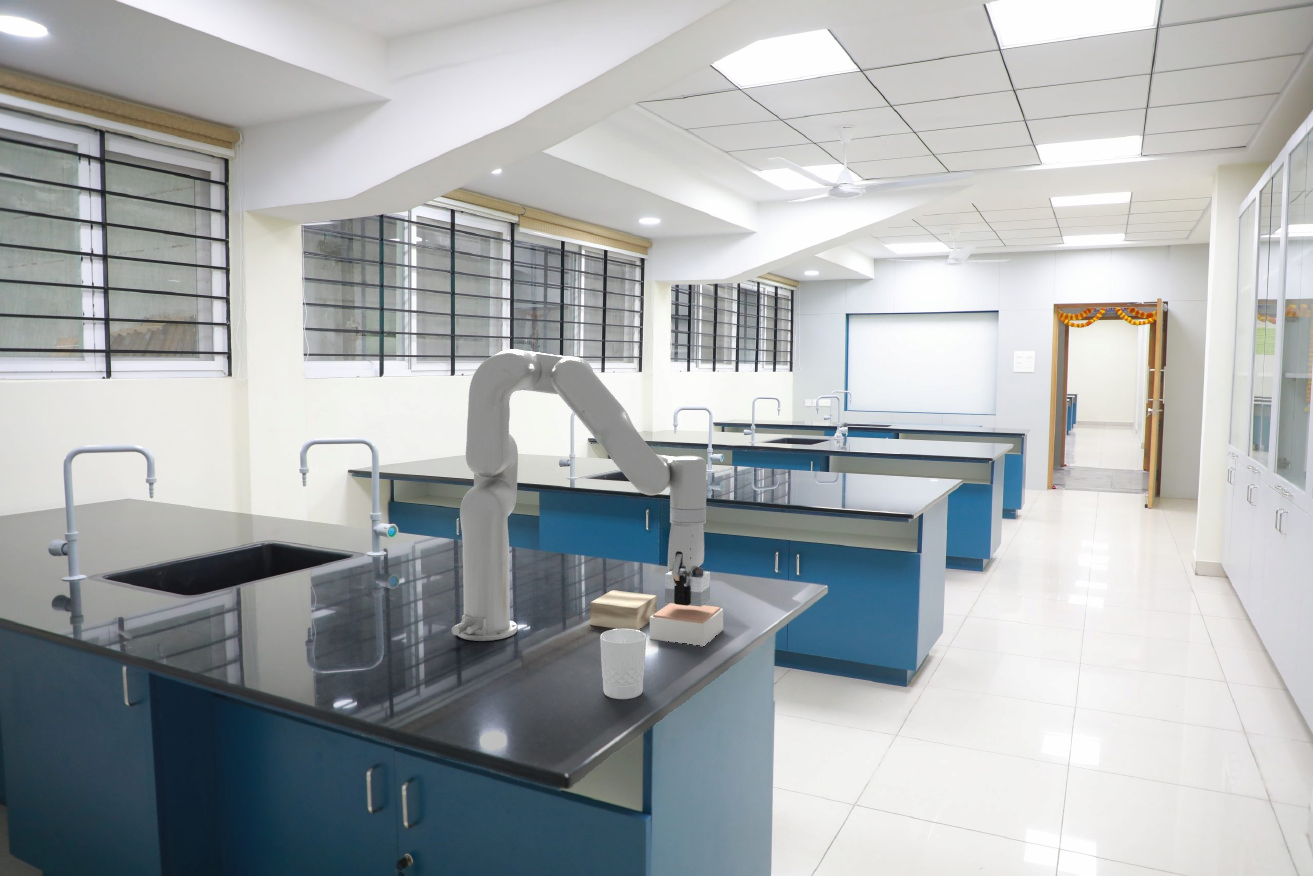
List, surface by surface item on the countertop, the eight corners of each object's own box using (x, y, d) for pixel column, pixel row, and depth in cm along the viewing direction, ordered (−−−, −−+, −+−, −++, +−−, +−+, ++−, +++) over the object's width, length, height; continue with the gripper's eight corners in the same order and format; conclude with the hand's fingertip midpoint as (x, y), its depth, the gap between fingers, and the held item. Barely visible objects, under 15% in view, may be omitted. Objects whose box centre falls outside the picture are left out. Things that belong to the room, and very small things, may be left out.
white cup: (621, 680, 150) (621, 625, 149) (655, 691, 145) (655, 634, 144) (590, 693, 144) (590, 636, 143) (624, 705, 139) (625, 646, 138)
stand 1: (636, 631, 177) (636, 608, 177) (590, 624, 182) (590, 602, 181) (656, 617, 188) (656, 595, 187) (612, 611, 192) (612, 590, 191)
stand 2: (704, 646, 168) (704, 622, 168) (649, 639, 173) (649, 615, 172) (722, 629, 179) (723, 607, 179) (670, 622, 184) (671, 600, 183)
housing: (664, 602, 174) (665, 568, 174) (674, 595, 179) (674, 562, 179) (701, 606, 171) (701, 572, 170) (709, 600, 176) (710, 566, 176)
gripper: (685, 508, 183) (685, 589, 185) (655, 521, 167) (655, 609, 169) (718, 510, 180) (717, 592, 182) (690, 523, 164) (689, 613, 166)
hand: (687, 599), depth 175 cm, fingers closed on housing, 5 cm apart
